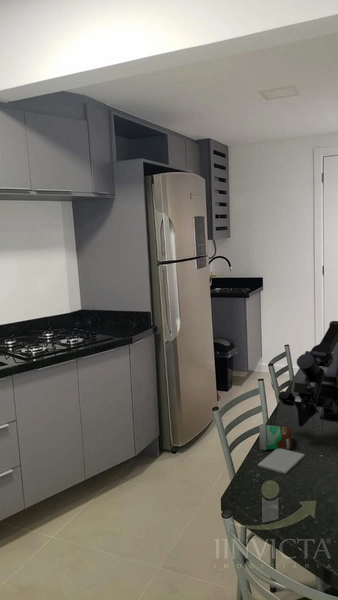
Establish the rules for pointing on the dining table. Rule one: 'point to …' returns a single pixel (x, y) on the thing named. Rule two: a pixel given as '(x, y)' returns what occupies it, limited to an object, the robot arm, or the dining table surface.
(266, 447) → the food container
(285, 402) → the robot arm
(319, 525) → the dining table surface
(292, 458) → the grey mat
